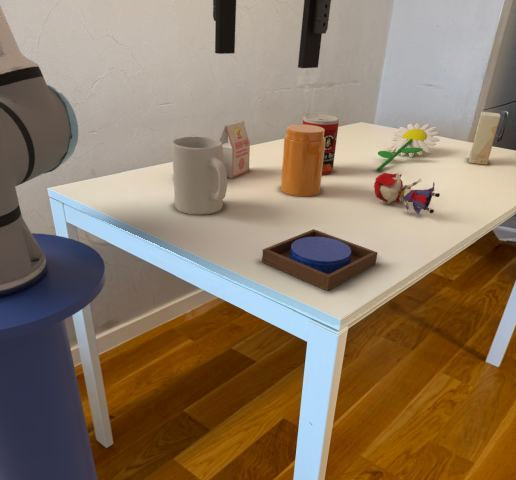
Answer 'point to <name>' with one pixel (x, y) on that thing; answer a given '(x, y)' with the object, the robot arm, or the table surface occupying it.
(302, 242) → the jar lid
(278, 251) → the tray
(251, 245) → the table surface
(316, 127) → the honey jar
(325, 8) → the robot arm
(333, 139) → the canned food
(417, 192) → the figurine
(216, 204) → the mug
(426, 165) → the table surface
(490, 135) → the box
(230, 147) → the gable top carton
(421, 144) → the decorative flower
